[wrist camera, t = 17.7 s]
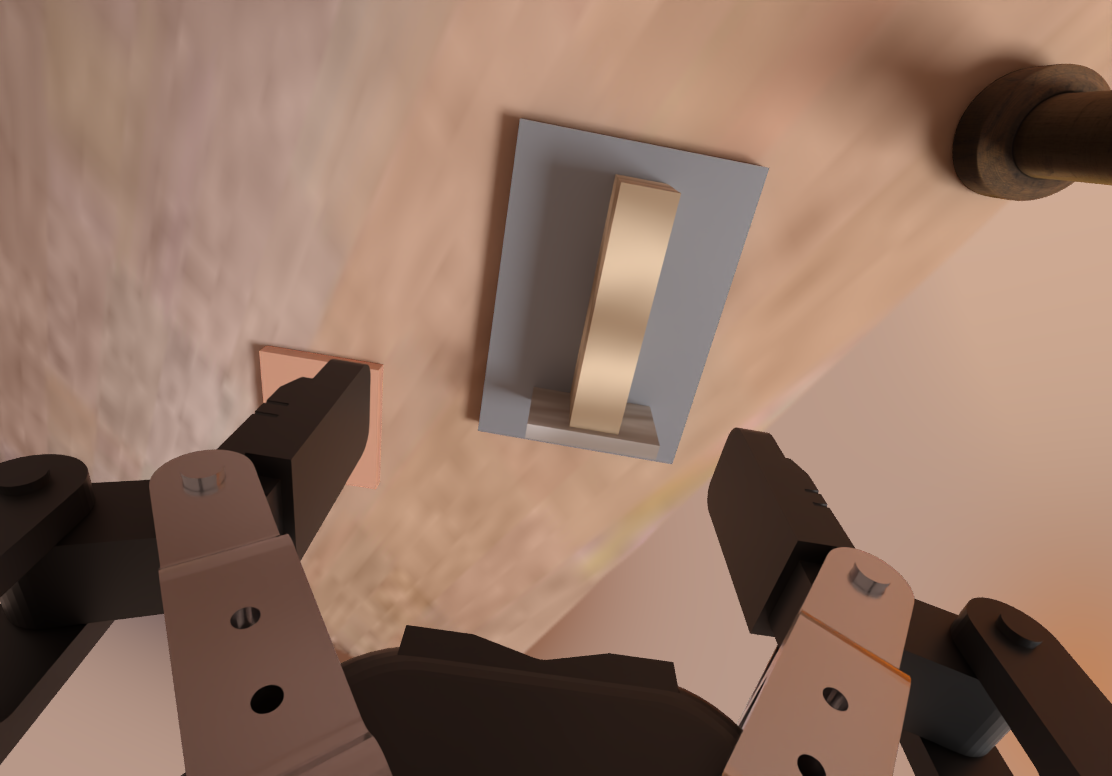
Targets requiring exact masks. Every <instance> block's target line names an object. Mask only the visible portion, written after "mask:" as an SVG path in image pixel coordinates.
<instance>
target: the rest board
mask: <svg viewBox="0 0 1112 776" xmlns="http://www.w3.org/2000/svg"><path fill="white" fill-rule="evenodd" d="M768 170H769V168H767V167H763V166H758V165H753V164H748V163H743V162H738V161H733V160H728V159H723V158H718V157H713V156H708V155H703V154H698V153H693V152H688V151H683V150H678V149H673V148H668V147H663V146H658V145H653V144H648V143H643V142H638V141H633V140H628V139H623V138H618V137H613V136H608V135H603V134H598V133H592V132H587V131H582V130H577V129H572V128H567V127H562V126H557V125H552V124H547V123H542V122H537V121H532V120H527V119H522V118H520V122H519V130H518V137H517V144H516V152H515V159H514V167H513V174H512V182H511V189H510V197H509V204H508V211H507V219H506V226H505V234H504V241H503V249H502V256H501V263H500V271H499V278H498V286H497V293H496V301H495V308H494V315H493V323H492V330H491V338H490V345H489V353H488V360H487V368H486V375H485V382H484V390H483V397H482V405H481V412H480V420H479V427H478V431H482V432H488V433H493V434H499V435H505V436H511V437H517V438H523V439H528V438H525V435H526V429H527V423H528V417H529V411H530V405H531V399H532V393H533V387H538V388H544V389H550V390H556V391H561V392H567V393H570V392H571V387H572V382H573V377H574V372H575V367H576V363H577V358H578V353H579V348H580V343H581V338H582V334H583V329H584V324H585V319H586V314H587V309H588V305H589V300H590V295H591V290H592V285H593V280H594V276H595V271H596V266H597V261H598V256H599V251H600V247H601V242H602V237H603V232H604V227H605V222H606V218H607V213H608V208H609V203H610V198H611V193H612V189H613V184H614V179H615V174H618V175H623V176H628V177H634V178H639V179H644V180H649V181H655V182H660V183H665V184H668V185H670V186H671V187H673V188H674V189H675V190H677V191H678V192H680V193H681V196H680V200H679V204H678V207H677V211H676V215H675V219H674V223H673V227H672V230H671V234H670V238H669V242H668V246H667V250H666V254H665V257H664V261H663V265H662V269H661V273H660V277H659V280H658V284H657V288H656V292H655V296H654V300H653V303H652V307H651V311H650V315H649V319H648V323H647V326H646V330H645V334H644V338H643V342H642V346H641V349H640V353H639V357H638V361H637V365H636V369H635V373H634V376H633V380H632V384H631V388H630V392H629V396H628V399H627V403H632V404H637V405H643V406H649V407H650V409H651V413H652V417H653V421H654V425H655V428H656V432H657V436H658V440H659V444H660V447H659V451H658V454H657V457H656V460H654V459H648V458H642V457H636V456H630V455H624V454H618V453H612V452H606V451H600V450H594V449H588V448H582V447H576V446H570V445H564V444H558V443H552V442H546V441H540V440H534V439H528V440H534V441H540V442H546V443H552V444H557V445H563V446H569V447H575V448H581V449H587V450H592V451H598V452H604V453H610V454H616V455H621V456H627V457H633V458H639V459H645V460H651V461H656V462H662V463H668V464H672V463H673V460H674V457H675V454H676V451H677V448H678V445H679V442H680V439H681V436H682V433H683V430H684V427H685V424H686V420H687V417H688V414H689V411H690V408H691V405H692V402H693V399H694V396H695V393H696V390H697V387H698V384H699V381H700V378H701V375H702V372H703V369H704V366H705V363H706V359H707V356H708V353H709V350H710V347H711V344H712V341H713V338H714V335H715V332H716V329H717V326H718V323H719V320H720V317H721V314H722V311H723V308H724V305H725V302H726V298H727V295H728V292H729V289H730V286H731V283H732V280H733V277H734V274H735V271H736V268H737V265H738V262H739V259H740V256H741V253H742V250H743V247H744V244H745V240H746V237H747V234H748V231H749V228H750V225H751V222H752V219H753V216H754V213H755V210H756V207H757V204H758V201H759V198H760V195H761V192H762V189H763V186H764V183H765V179H766V176H767V173H768Z"/></svg>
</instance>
